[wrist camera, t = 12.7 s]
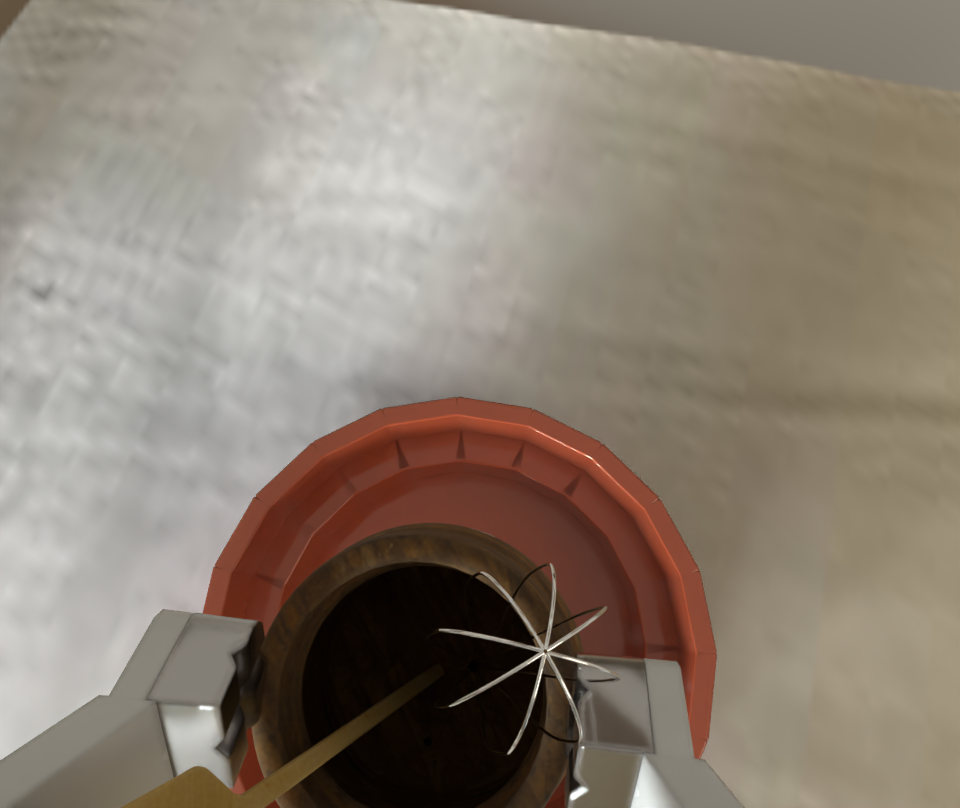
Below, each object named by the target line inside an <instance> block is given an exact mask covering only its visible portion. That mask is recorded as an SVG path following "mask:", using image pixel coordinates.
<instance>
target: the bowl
mask: <svg viewBox="0 0 960 808" xmlns="http://www.w3.org/2000/svg"><path fill="white" fill-rule="evenodd" d="M417 523H445V524H454V525H459V526H464V527H468V528H472V529H476V530H479V531H482V532H484V533H487V534H490V535H492V536H494V537H496V538H498V539H500V540H502V541H504V542H506V543H508V544H509V545H511V546H513V547H514V548H515V549H517V550H518V551H520V552H521V553H523V554H524V555H525V556H526V557H528V558H529V559H530V560H531V561H532V562H533V563H535V564H536V565H537V566H540V565H542V564H544V563H547V562H550V563H552V564H553V566H554V569H555V573H556V588H557V590H558V591H559V593H560V594H561V596H562V597H563V599H564V601H565V603H566V604H567V606H568V608H569V610H570V612H571V614H572V616H573V615H576V614H578V613H580V612H583V611H586V610H589V609H592V608H595V607H598V606H601V605H607V610H606V611H605V612H604V613H603V614H602V615H601V616H600V617H598V618H597V619H596V620H594V621H593V622H592V623H590V624H589V625H588V626H586V627H585V628H584V629H582V630H581V631H579V634H580V638H581V642H582V645H583V649H584V653H594V654H606V655H617V656H628V657H639V658H642V659H643V658H646V659H656V660H667V661H677V663H678V664H679V666H680V667H681V674H682V680H683V686H684V693H685V699H686V706H687V712H688V719H689V725H690V731H691V738H692V744H693V751H694V757H695V759H700V758H701V756H702V753H703V751H704V749H705V747H706V744H707V740H708V739H709V730H710V720H711V710H712V700H713V689H714V679H715V669H716V659H717V654H716V652H717V651H716V646H715V641H714V636H713V632H712V627H711V622H710V617H709V612H708V608H707V603H706V598H705V593H704V588H703V583H702V579H701V574H700V571H698V570H699V568H698V566H697V564H696V563H695V561H694V559H693V557H692V555H691V554H690V552H689V550H688V548H687V546H686V544H685V543H684V541H683V539H682V537H681V535H680V534H679V532H678V530H677V528H676V526H675V525H674V523H673V521H672V519H671V517H670V516H669V514H668V512H667V510H666V508H665V506H664V505H663V503H662V501H661V500H660V499H659V498H658V496H657V495H656V494H655V493H654V492H653V491H652V490H651V489H650V488H649V487H648V486H647V485H646V484H644V483H643V482H642V481H641V480H640V479H639V478H638V477H637V476H636V475H635V474H634V473H633V472H632V471H631V470H630V469H629V468H628V467H627V466H626V465H625V464H624V463H623V462H622V461H621V460H620V459H618V458H617V457H616V456H615V455H614V454H613V453H612V452H611V451H610V450H609V449H608V448H607V447H606V446H605V445H603V444H601V442H599V441H597V440H595V439H593V438H591V437H589V436H587V435H585V434H583V433H581V432H579V431H577V430H575V429H573V428H571V427H569V426H567V425H565V424H563V423H561V422H559V421H557V420H555V419H553V418H551V417H549V416H547V415H545V414H543V413H541V412H539V411H537V410H533V409H532V408H527V407H521V406H514V405H508V404H502V403H495V402H489V401H482V400H476V399H470V398H463V397H458V398H457V397H452V398H446V399H439V400H433V401H426V402H419V403H413V404H406V405H399V406H393V407H386V408H383V409H379V410H377V411H375V412H373V413H371V414H369V415H367V416H365V417H363V418H360V419H358V420H356V421H354V422H352V423H350V424H348V425H346V426H344V427H342V428H340V429H338V430H336V431H334V432H332V433H330V434H328V435H325V436H323V437H321V438H319V439H317V440H315V441H314V442H313V443H311V444H310V445H309V446H308V447H307V448H306V449H304V450H303V451H302V452H301V453H300V454H299V455H298V456H297V457H296V458H295V459H294V460H293V461H292V462H291V463H289V464H288V465H287V466H286V467H285V468H284V469H283V470H282V471H281V472H280V473H279V474H278V475H277V476H276V477H274V478H273V479H272V480H271V481H270V482H269V483H268V484H267V485H266V486H265V487H264V488H263V489H262V490H261V491H259V492H258V493H257V494H256V497H254V498H253V500H252V501H251V503H250V505H249V507H248V508H247V510H246V512H245V514H244V515H243V517H242V519H241V520H240V522H239V524H238V526H237V527H236V529H235V531H234V533H233V534H232V536H231V538H230V539H229V541H228V543H227V545H226V546H225V548H224V550H223V552H222V553H221V555H220V557H219V558H218V560H217V562H216V564H215V567H214V568H213V572H212V576H211V580H210V584H209V588H208V593H207V597H206V601H205V605H204V610H203V614H209V615H217V616H225V617H233V618H241V619H249V620H256V621H260V622H263V628H264V633H265V637H266V635H267V633H268V630H269V628H270V626H271V624H272V623H273V621H274V619H275V617H276V615H277V614H278V612H279V611H280V609H281V608H282V606H283V605H284V603H285V602H286V601H287V599H288V598H289V597H290V595H291V594H292V593H293V592H294V591H295V590H296V588H297V587H298V586H299V585H300V584H301V583H302V582H303V581H304V580H305V579H306V578H307V577H308V576H309V575H310V574H311V573H312V572H313V571H315V570H316V569H317V568H318V567H320V566H321V565H322V564H323V563H325V562H326V561H328V560H329V559H330V558H332V557H333V556H335V555H336V554H338V553H340V552H342V551H343V550H344V549H346V548H347V547H349V546H351V545H352V544H354V543H356V542H358V541H360V540H362V539H364V538H366V537H368V536H370V535H373V534H375V533H378V532H380V531H383V530H387V529H390V528H394V527H398V526H403V525H409V524H417ZM541 570H542V571H543V572H544V574H545V575H546V576H547V577H548V578H549V579H550V580H551V582H552V573H551V569H550V567H549V566H546V567H544V568H542V569H541ZM599 611H600V610H597V611H594V612H591V613H588V614H585V615H582V616H580V617H577V618H575V619H574V621H575V623H576V626H577V628H578V627H579V626H580V625H582V624H583V623H585V622H586V621H588V620H589V619H590V618H592V617H593V616H594V615H596V614H597V613H598V612H599ZM246 732H247V739H248V746H249V748H248V751H247V754H246V756H245V759H244V762H243V764H242V767H241V770H240V772H239V775H238V778H237V780H236V783H235V785H234V788H229V789H230V790H231V791H232V792H233V793H235V794H240V795H241V794H243V793H244V792H246V791H247V790H249V789H250V788H251V787H253V786H254V785H256V784H257V783H259V782H260V781H262V780H263V779H265V778H264V776H263V773H262V770H261V767H260V764H259V762H258V758H257V754H256V750H255V746H254V740H253V734H252V727H251V728H250V729H248V730H247V731H246ZM565 777H566V774H565V776H564V778H563V780H562V781H561V783H560V784H559V786H558V787H557V789H556V790H555V792H554V794H553V795H552V797H551V798H550V800H549V801H548V803H547V804H546V806H545V807H544V808H565ZM265 808H280V806H279V805H278V803H277V802H276V800H274V801H273V802H272V803H270V804H269V805H268V806H266V807H265Z"/></svg>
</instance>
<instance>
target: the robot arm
mask: <svg viewBox="0 0 960 808" xmlns="http://www.w3.org/2000/svg"><path fill="white" fill-rule="evenodd" d="M264 640H265V633H264V628H263V622H260V621H256V620H249V619H241V618H233V617H225V616H217V615H209V614H202V613H190V612H182V611H174V610H165V609H163V610H162V611H161V612H160V613H158V614H157V615H156V616H155V617H154V618H153V620H152V622H151V624H150V625H149V627H148V629H147V630H146V632H145V634H144V636H143V637H142V639H141V641H140V643H139V644H138V646H137V648H136V650H135V651H134V653H133V655H132V656H131V658H130V660H129V662H128V663H127V665H126V667H125V669H124V670H123V672H122V674H121V676H120V677H119V679H118V681H117V683H116V684H115V686H114V688H113V689H112V691H111V693H110V695H109V696H103V695H99V696H97V697H96V698H94V699H93V700H91V701H90V702H88V703H87V704H85V705H83V706H82V707H80V708H79V709H77V710H76V711H74V712H73V713H71V714H70V715H68V716H67V717H65V718H64V719H62V720H61V721H59V722H58V723H56V724H55V725H53V726H52V727H50V728H49V729H47V730H46V731H44V732H43V733H41V734H40V735H38V736H37V737H35V738H34V739H32V740H31V741H29V742H28V743H26V744H25V745H23V746H22V747H20V748H19V749H17V750H16V751H14V752H13V753H11V754H9V755H8V756H6V757H5V758H3V759H2V760H0V808H121V807H122V806H124V805H126V804H128V803H130V802H131V801H133V800H135V799H137V798H139V797H140V796H142V795H144V794H146V793H148V792H149V791H151V790H153V789H155V788H157V787H158V786H160V785H162V784H164V783H165V782H167V781H169V780H171V779H173V778H174V777H176V776H178V775H180V774H182V773H183V772H185V771H187V770H189V769H191V768H193V767H194V766H201V767H206V768H207V769H208V770H210V771H211V772H212V773H213V774H214V775H215V776H216V777H217V778H218V779H219V780H220V781H221V782H223V783H224V784H225V785H226V786H227V787H228V788H234V785H235V783H236V780H237V778H238V775H239V772H240V770H241V767H242V764H243V762H244V759H245V756H246V754H247V751H248V748H249V746H248V739H247V732H246V731H247V730H248V729H250V728H251V727H252V726H254V725H255V724H256V723H257V722H259V719H260V714H261V707H262V700H263V694H264V687H265V680H266V673H267V667H268V658H267V657H266V656H265V655H264V654H263V653H262V652H261V651H260V650H261V647H262V645H263V642H264ZM574 658H577V659H580V660H584V661H587V662H590V663H593V664H596V665H598V666H601V667H604V668H606V669H609V670H611V671H613V672H615V673H617V674H618V675H619V676H620V677H621V680H620V681H616V682H605V683H587V682H586V679H609V678H616V677H614V676H612V675H610V674H608V673H605V672H603V671H600V670H597V669H594V668H592V667H588V666H585V665H582V664H579V663H576V662H573V668H572V678H575V679H576V680H575V681H572V688H571V689H569V693H570V695H571V697H572V699H573V702H574V704H575V707H576V709H577V712H578V715H579V718H580V721H581V725H582V731H583V738H582V741H581V742H580V743H577V744H571V743H565V755H566V757H567V758H568V764H567V771H566V777H565V808H744V806H743V805H742V804H741V803H740V802H739V800H738V799H737V798H736V797H735V795H734V794H733V793H732V792H731V791H730V789H729V788H728V787H727V786H726V785H725V783H724V782H723V781H722V780H721V779H720V777H719V776H718V775H717V774H716V773H715V771H714V770H713V769H712V768H711V766H710V765H709V764H708V763H707V762H706V760H702V759H695V757H694V751H693V744H692V738H691V731H690V725H689V719H688V712H687V706H686V699H685V693H684V686H683V680H682V674H681V667H680V666H679V664H678V663H677V661H667V660H656V659H646V658H643V659H642V658H639V657H628V656H617V655H606V654H594V653H583V652H576V653H575V657H574ZM578 738H579V732H578V726H577V722H576V719H575V716H574V713H573V710H572V708H571V705H570V703H569V701H568V712H567V724H566V739H571V740H576V739H578Z"/></svg>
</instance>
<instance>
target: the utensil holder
mask: <svg viewBox="0 0 960 808" xmlns="http://www.w3.org/2000/svg"><path fill="white" fill-rule="evenodd" d="M546 566H549V567H550V569H551V573H552V582H551V580H550V579H549V578H548V577H547V576H546V575H545V574H544V572H543V571H542V570H541V569H542V568H544V567H546ZM597 610H600V611H599V612H598V613H597V614H596V615H594V616H593V617H592V618H590V619H589V620H588V621H586V622H585V623H583V624H582V625H580V626H579V627H578V628H577V626H576V623H575V621H574V619H575V618H577V617H580V616H582V615H585V614H588V613H591V612H594V611H597ZM606 610H607V605H601V606H598V607H595V608H592V609H589V610H586V611H583V612H580V613H578V614H576V615H573V616H572V614H571V612H570V610H569V608H568V606H567V604H566V603H565V601H564V599H563V597H562V596H561V594H560V593H559V591H558V590H557V588H556V573H555V569H554V566H553V564H552V563H550V562H547V563H544V564H542V565H540V566H537V565H536V564H535V563H533V562H532V561H531V560H530V559H529V558H528V557H526V556H525V555H524V554H523V553H521V552H520V551H518V550H517V549H515V548H514V547H513V546H511V545H509V544H508V543H506V542H504V541H502V540H500V539H498V538H496V537H494V536H492V535H490V534H487V533H484V532H482V531H479V530H476V529H472V528H468V527H464V526H459V525H454V524H445V523H417V524H409V525H403V526H398V527H394V528H390V529H387V530H383V531H380V532H378V533H375V534H373V535H370V536H368V537H366V538H364V539H362V540H360V541H358V542H356V543H354V544H352V545H351V546H349V547H347V548H346V549H344V550H343V551H342V552H340V553H338V554H336V555H335V556H333V557H332V558H330V559H329V560H328V561H326V562H325V563H323V564H322V565H321V566H320V567H318V568H317V569H316V570H315V571H313V572H312V573H311V574H310V575H309V576H308V577H307V578H306V579H305V580H304V581H303V582H302V583H301V584H300V585H299V586H298V587H297V588H296V590H295V591H294V592H293V593H292V594H291V595H290V597H289V598H288V599H287V601H286V602H285V603H284V605H283V606H282V608H281V609H280V611H279V612H278V614H277V615H276V617H275V619H274V621H273V623H272V624H271V626H270V628H269V630H268V633H267V635H266V637H265V640H264V642H263V645H262V647H261V650H260V651H261V652H262V653H263V654H264V655H265V656H266V657H267V658H268V667H267V673H266V680H265V687H264V694H263V700H262V707H261V714H260V719H259V722H257V723H256V724H255V725H254V726H252V734H253V740H254V746H255V750H256V754H257V758H258V762H259V764H260V767H261V770H262V773H263V776H264V778H265V779H263V780H262V781H260V782H259V783H257V784H256V785H254V786H253V787H251V788H250V789H249V790H247V791H246V792H244V793H243V794H241V795H240V794H235V793H233V792H232V791H231V790H230V789H229V788H228V787H227V786H226V785H225V784H224V783H223V782H221V781H220V780H219V779H218V778H217V777H216V776H215V775H214V774H213V773H212V772H211V771H210V770H208V769H207V768H206V767H201V766H194V767H193V768H191V769H189V770H187V771H185V772H183V773H182V774H180V775H178V776H176V777H174V778H173V779H171V780H169V781H167V782H165V783H164V784H162V785H160V786H158V787H157V788H155V789H153V790H151V791H149V792H148V793H146V794H144V795H142V796H140V797H139V798H137V799H135V800H133V801H131V802H130V803H128V804H126V805H124V806H122V807H121V808H265V807H266V806H268V805H269V804H270V803H272V802H273V801H274V800H276V802H277V803H278V805H279V806H280V808H544V807H545V806H546V804H547V803H548V801H549V800H550V798H551V797H552V795H553V794H554V792H555V790H556V789H557V787H558V786H559V784H560V783H561V781H562V780H563V778H564V776H565V774H566V771H567V764H568V758H567V757H566V755H565V743H571V744H577V743H580V742H581V741H582V738H583V731H582V725H581V721H580V718H579V715H578V712H577V709H576V707H575V704H574V702H573V699H572V697H571V695H570V693H569V689H571V688H572V681H575V680H576V679H575V678H572V668H573V662H576V663H579V664H582V665H585V666H588V667H592V668H594V669H597V670H600V671H603V672H605V673H608V674H610V675H612V676H614V677H616V678H609V679H586V682H587V683H605V682H616V681H620V680H621V677H620V676H619V675H618V674H617V673H615V672H613V671H611V670H609V669H606V668H604V667H601V666H598V665H596V664H593V663H590V662H587V661H584V660H580V659H577V658H574V657H575V653H576V652H583V653H584V649H583V645H582V642H581V638H580V634H579V631H581V630H582V629H584V628H585V627H586V626H588V625H589V624H590V623H592V622H593V621H594V620H596V619H597V618H598V617H600V616H601V615H602V614H603V613H604V612H605V611H606ZM568 701H569V703H570V705H571V708H572V710H573V713H574V716H575V719H576V722H577V726H578V732H579V738H578V739H576V740H571V739H566V724H567V712H568Z"/></svg>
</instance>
